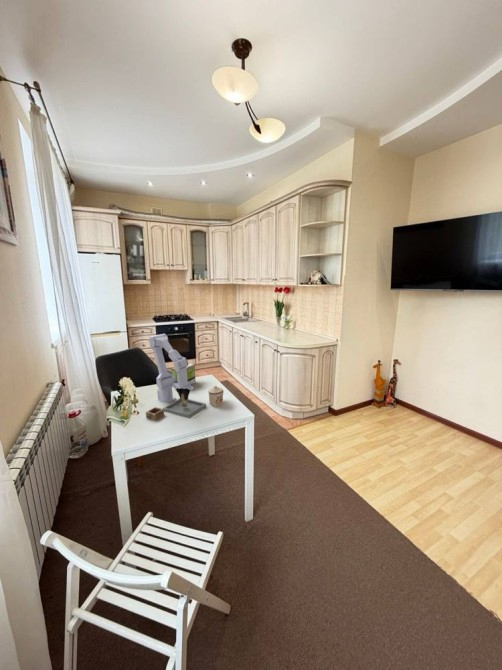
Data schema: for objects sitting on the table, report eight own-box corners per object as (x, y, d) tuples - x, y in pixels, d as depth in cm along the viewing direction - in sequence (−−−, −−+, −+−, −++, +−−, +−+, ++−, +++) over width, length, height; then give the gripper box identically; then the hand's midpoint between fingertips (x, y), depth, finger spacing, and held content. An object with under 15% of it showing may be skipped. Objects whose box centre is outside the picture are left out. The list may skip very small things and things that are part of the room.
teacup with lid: (217, 407, 164) (216, 390, 162) (206, 404, 169) (204, 387, 167) (229, 400, 174) (228, 383, 172) (218, 397, 179) (217, 380, 176)
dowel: (181, 406, 163) (180, 394, 161) (184, 404, 166) (183, 392, 164) (184, 407, 162) (183, 395, 160) (188, 405, 164) (187, 393, 162)
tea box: (182, 389, 193) (180, 370, 190) (172, 387, 198) (170, 368, 195) (196, 382, 206) (194, 364, 203) (186, 380, 211) (184, 362, 207)
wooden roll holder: (146, 418, 154) (145, 412, 154) (156, 413, 160) (155, 406, 160) (155, 421, 151) (154, 414, 150) (164, 415, 157) (163, 409, 156)
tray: (163, 411, 162) (163, 408, 162) (181, 400, 176) (181, 397, 175) (188, 418, 153) (188, 415, 152) (206, 406, 166) (205, 403, 166)
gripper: (168, 378, 160) (170, 399, 163) (186, 382, 153) (188, 404, 156) (176, 374, 166) (178, 395, 169) (195, 378, 159) (196, 399, 162)
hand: (184, 399), depth 163 cm, fingers closed on dowel, 3 cm apart
